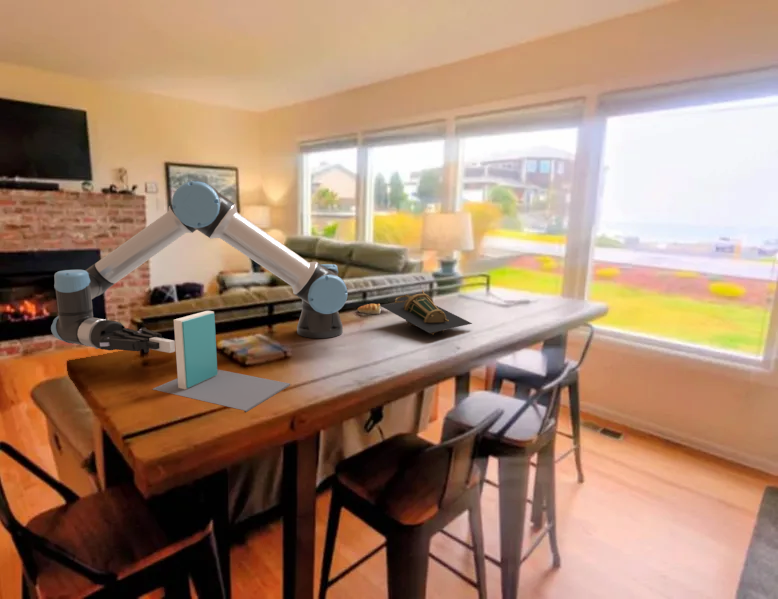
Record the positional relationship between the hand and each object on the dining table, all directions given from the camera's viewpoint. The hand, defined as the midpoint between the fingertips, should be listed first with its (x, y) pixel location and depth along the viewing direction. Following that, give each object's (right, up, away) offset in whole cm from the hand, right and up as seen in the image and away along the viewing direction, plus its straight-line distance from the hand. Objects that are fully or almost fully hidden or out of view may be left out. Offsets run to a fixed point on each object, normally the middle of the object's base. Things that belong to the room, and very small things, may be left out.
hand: (172, 346), depth 109 cm
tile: (+7, -8, -1) cm, 11 cm away
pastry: (+45, +6, +75) cm, 88 cm away
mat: (+13, -9, -3) cm, 17 cm away
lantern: (+63, +1, +54) cm, 83 cm away
